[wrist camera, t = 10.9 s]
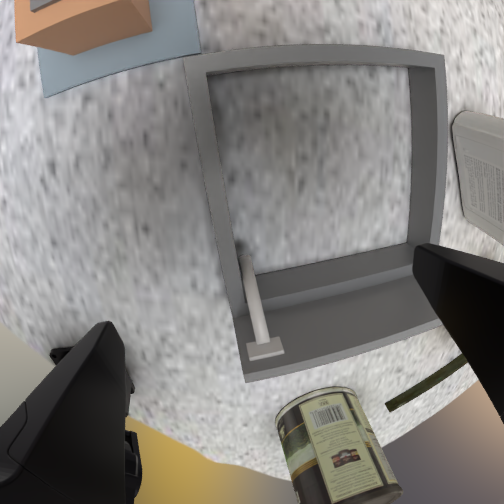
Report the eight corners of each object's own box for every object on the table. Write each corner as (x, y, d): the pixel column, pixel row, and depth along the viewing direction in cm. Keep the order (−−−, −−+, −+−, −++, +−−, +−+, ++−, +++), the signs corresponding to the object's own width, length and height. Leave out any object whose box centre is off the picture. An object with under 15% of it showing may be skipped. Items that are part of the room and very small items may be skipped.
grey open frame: (230, 301, 24) (245, 383, 17) (185, 64, 16) (176, 40, 9) (413, 259, 25) (470, 313, 18) (417, 56, 17) (500, 56, 10)
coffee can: (298, 442, 37) (326, 532, 25) (258, 416, 32) (285, 530, 20) (367, 406, 36) (409, 495, 23) (341, 372, 31) (394, 487, 18)
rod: (384, 403, 37) (390, 414, 35) (383, 400, 36) (389, 412, 34) (539, 286, 34) (547, 293, 32) (540, 282, 33) (548, 289, 32)
